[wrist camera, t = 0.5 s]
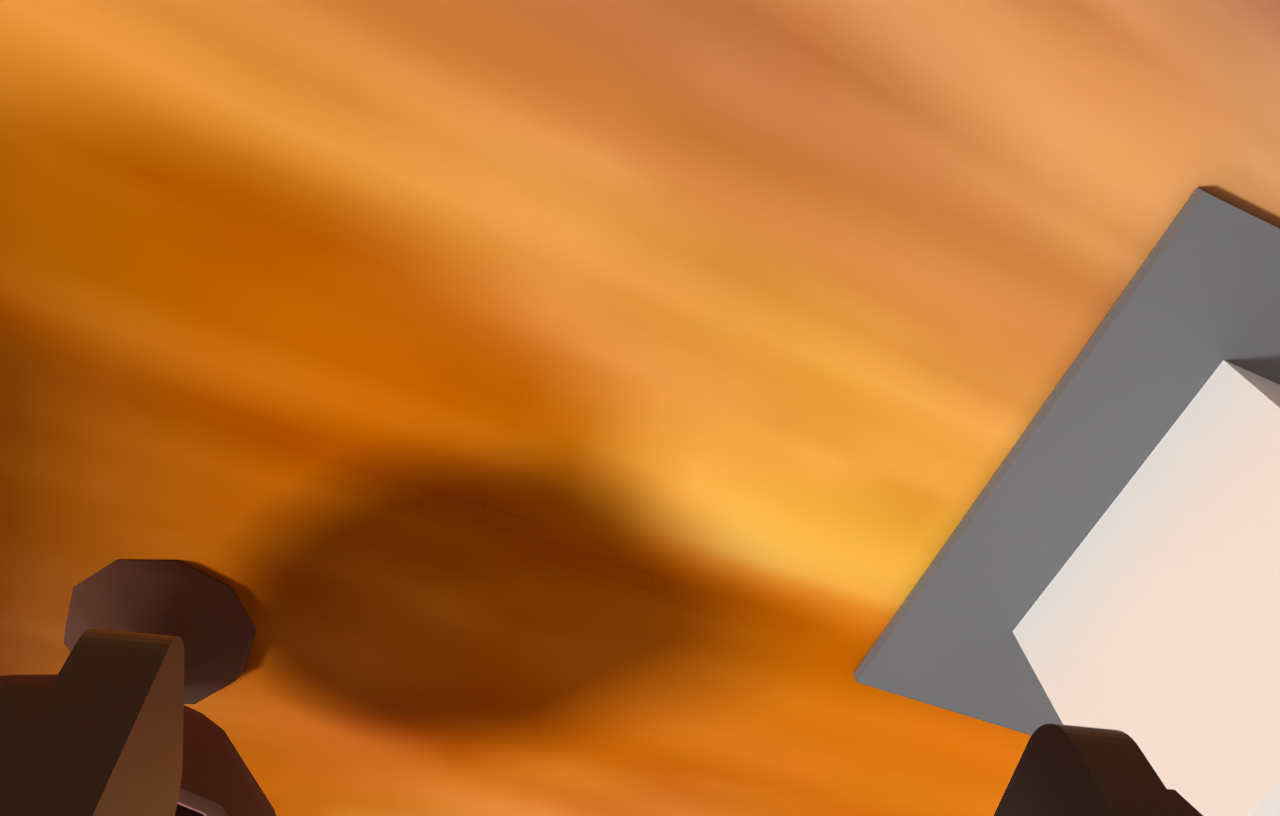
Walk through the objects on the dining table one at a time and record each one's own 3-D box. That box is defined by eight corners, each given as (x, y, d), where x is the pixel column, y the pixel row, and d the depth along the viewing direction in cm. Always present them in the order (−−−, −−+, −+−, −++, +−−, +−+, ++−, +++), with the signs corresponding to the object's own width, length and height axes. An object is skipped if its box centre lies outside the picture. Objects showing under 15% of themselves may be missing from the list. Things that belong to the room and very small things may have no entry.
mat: (1197, 187, 28) (1205, 192, 28) (1656, 412, 33) (1668, 419, 33) (853, 673, 36) (856, 682, 36) (1266, 799, 41) (1272, 808, 40)
